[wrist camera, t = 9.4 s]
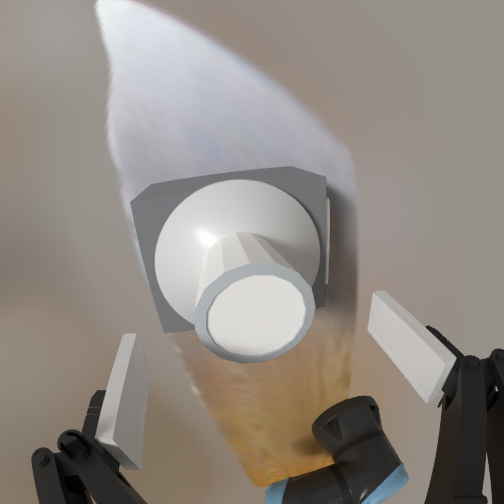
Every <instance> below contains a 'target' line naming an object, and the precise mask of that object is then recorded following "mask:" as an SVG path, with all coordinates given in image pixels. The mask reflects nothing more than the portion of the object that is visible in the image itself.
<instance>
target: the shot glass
mask: <svg viewBox="0 0 504 504" xmlns="http://www.w3.org/2000/svg"><path fill="white" fill-rule="evenodd" d="M315 307H316V306H315V302H314V297H313V293H312V288H311V287H310V286H309V285H308V284H307V282H306V281H305V280H304V279H303V278H302V277H301V275H300V274H299V273H298V272H297V271H296V270H295V269H294V268H293V267H292V266H291V265H290V264H289V263H288V262H287V261H286V260H285V259H284V258H283V257H282V256H281V255H280V254H279V253H278V252H277V251H276V250H275V249H274V248H272V247H271V246H270V245H269V244H268V243H267V242H266V241H265V240H264V239H263V238H261V237H259V236H257V235H255V234H252V233H250V232H234V233H231V234H228V235H225V236H223V237H220V238H219V239H218V240H217V241H216V242H215V243H214V244H213V245H211V246H210V247H209V250H208V252H207V254H206V256H205V258H204V260H203V266H202V271H201V276H200V282H199V287H198V293H197V299H196V304H195V330H196V332H197V334H198V336H199V338H200V339H201V341H202V343H203V345H204V346H205V347H206V348H207V349H209V350H210V351H212V352H213V353H214V354H216V355H217V356H219V357H220V358H223V359H226V360H230V361H234V362H238V363H254V362H263V361H266V360H269V359H272V358H275V357H278V356H280V355H283V354H284V353H285V352H287V351H288V350H290V349H291V348H292V347H294V346H295V345H296V344H298V343H299V342H300V341H301V339H302V338H303V336H304V335H305V334H306V332H307V331H308V329H309V328H310V327H311V324H312V320H313V316H314V312H315Z"/></svg>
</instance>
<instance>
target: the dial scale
mask: <svg viewBox="0 0 504 504" xmlns="http://www.w3.org/2000/svg"><path fill="white" fill-rule="evenodd" d="M130 203H131V208H132V213H133V218H134V223H135V227H136V232H137V237H138V241H139V245H140V249H141V254H142V258H143V262H144V266H145V269H146V273H147V277H148V281H149V284H150V288H151V291H152V295H153V298H154V302H155V305H156V308H157V312H158V315H159V318H160V321H161V324H162V327H163V331H164V333H171V332H179V331H187V330H195V304H196V299H197V293H198V287H199V282H200V276H201V271H202V266H203V260H204V258H205V256H206V254H207V252H208V250H209V247H210V246H211V245H213V244H214V243H215V242H216V241H217V240H218V239H219V238H220V237H223V236H225V235H228V234H231V233H234V232H250V233H252V234H255V235H257V236H259V237H261V238H263V239H264V240H265V241H266V242H267V243H268V244H269V245H270V246H271V247H272V248H274V249H275V250H276V251H277V252H278V253H279V254H280V255H281V256H282V257H283V258H284V259H285V260H286V261H287V262H288V263H289V264H290V265H291V266H292V267H293V268H294V269H295V270H296V271H297V272H298V273H299V274H300V275H301V277H302V278H303V279H304V280H305V281H306V282H307V284H308V285H309V286H310V287H311V288H312V293H313V297H314V302H315V306H316V307H315V308H319V307H324V303H325V284H328V275H329V244H330V239H329V237H330V204H329V199H328V198H326V177H325V176H321V175H318V174H315V173H312V172H308V171H305V170H302V169H298V168H295V167H279V168H267V169H257V170H247V171H238V172H230V173H222V174H214V175H207V176H200V177H193V178H186V179H180V180H174V181H168V182H162V183H157V184H151V185H150V186H149V187H147V188H146V189H145V190H144V191H143V192H141V193H140V194H139V195H138V196H137V197H136V198H134V199H133V200H132V201H131V202H130Z"/></svg>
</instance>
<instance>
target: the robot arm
mask: <svg viewBox="0 0 504 504" xmlns="http://www.w3.org/2000/svg"><path fill="white" fill-rule="evenodd" d="M367 330H368V332H369V333H370V334H371V335H372V336H373V338H374V339H375V340H376V341H377V342H378V344H379V345H380V346H381V347H382V349H383V350H384V351H385V352H386V353H387V355H388V356H389V357H390V358H391V360H392V361H393V362H394V363H395V365H396V366H397V367H398V368H399V369H400V371H401V372H402V373H403V375H404V376H405V377H406V378H407V379H408V381H409V382H410V383H411V385H412V386H413V387H414V388H415V390H416V391H417V392H418V394H419V395H420V396H421V397H422V399H423V400H424V401H425V403H428V402H430V401H432V400H433V399H435V398H437V397H438V394H439V393H440V391H441V389H442V391H443V392H444V395H443V397H442V399H441V401H440V402H439V404H438V408H439V407H440V405H441V404H442V413H441V422H440V431H439V438H438V445H437V451H436V457H435V462H434V467H433V472H432V476H431V481H430V485H429V489H428V493H427V496H426V500H425V503H424V504H487V503H488V500H487V497H486V496H484V495H483V494H482V489H483V481H484V473H485V463H486V451H487V457H488V464H489V471H490V480H491V491H492V504H504V350H503V349H495V350H493V351H492V353H491V355H490V357H489V358H486V359H481V360H480V359H479V358H477V357H475V356H472V355H467V356H464V355H463V354H462V353H461V352H460V351H459V350H458V349H457V348H456V347H455V346H453V345H452V344H451V343H450V342H449V341H447V339H446V338H445V337H444V336H442V334H441V333H440V332H439V331H438V330H436V329H434V328H432V327H430V326H426V327H424V326H423V325H422V324H421V323H420V322H419V321H418V320H417V319H416V318H415V317H414V316H412V315H411V314H410V313H409V312H408V311H407V310H406V309H405V308H404V307H403V306H401V305H400V304H399V303H398V302H397V301H396V300H395V299H394V298H392V297H391V296H390V295H389V294H388V293H387V292H385V290H380V291H376V292H373V295H372V303H371V309H370V316H369V322H368V328H367ZM151 371H152V370H151V367H150V365H149V363H148V360H147V358H146V356H145V353H144V351H143V348H142V346H141V343H140V341H139V338H138V335H137V333H132V334H124V335H123V338H122V341H121V344H120V347H119V350H118V353H117V357H116V360H115V363H114V366H113V370H112V373H111V376H110V380H109V383H108V387H107V390H97V392H96V393H95V394H94V395H93V396H92V398H91V401H90V404H89V408H88V411H87V416H86V418H85V422H84V426H83V429H82V433H81V432H80V431H77V430H67V431H65V432H63V433H62V434H61V435H60V437H59V438H58V443H57V445H58V449H59V450H60V451H61V452H59V453H53V452H52V451H51V450H50V449H48V448H45V447H44V448H39V449H37V450H36V451H35V452H34V453H33V455H32V461H31V462H32V469H33V474H34V480H35V485H36V490H37V495H38V499H39V503H40V504H93V502H92V499H91V497H90V494H91V496H92V498H93V499H94V500H95V502H96V503H97V504H147V503H146V502H145V501H144V500H143V498H142V497H141V496H140V495H139V494H138V493H137V492H136V491H135V489H134V488H133V487H132V486H131V485H130V483H129V482H128V481H127V480H126V479H125V477H124V476H123V475H122V474H121V473H120V472H119V465H121V466H122V467H123V468H124V469H130V470H141V462H142V449H143V437H144V427H145V418H146V417H145V416H146V409H147V400H148V393H149V385H150V378H151ZM496 386H497V389H498V391H496V390H495V387H496ZM312 432H313V435H314V437H315V439H316V440H317V441H318V443H319V444H320V445H321V446H322V447H323V448H324V449H325V450H326V451H327V452H328V453H329V454H330V455H331V456H332V458H333V461H334V463H335V464H332V465H329V466H326V467H324V468H321V469H318V470H315V471H312V472H309V473H305V474H302V475H299V476H295V477H288V478H287V479H284V480H281V481H278V482H275V483H272V484H270V485H269V486H268V488H267V490H266V496H265V504H381V503H382V502H384V501H385V500H387V499H388V498H390V497H391V496H393V495H394V494H395V493H397V492H398V491H399V490H401V489H402V488H403V487H404V486H405V485H406V484H407V482H408V474H407V472H406V470H405V468H404V466H403V465H404V464H403V463H402V462H401V460H400V459H399V457H398V455H397V453H396V452H395V450H394V448H393V447H392V445H391V443H390V442H389V440H388V439H387V437H386V435H385V433H384V432H383V430H382V425H381V419H380V414H379V408H378V405H377V404H376V402H375V400H374V399H373V398H372V397H370V396H358V397H354V398H350V399H347V400H345V401H343V402H340V403H338V404H336V405H335V406H333V407H331V408H330V409H328V410H327V411H325V412H324V413H323V414H321V415H320V416H319V417H318V418H317V419H316V421H315V422H314V423H313V425H312ZM89 493H90V494H89Z"/></svg>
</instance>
